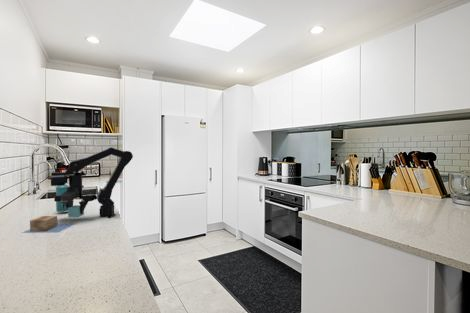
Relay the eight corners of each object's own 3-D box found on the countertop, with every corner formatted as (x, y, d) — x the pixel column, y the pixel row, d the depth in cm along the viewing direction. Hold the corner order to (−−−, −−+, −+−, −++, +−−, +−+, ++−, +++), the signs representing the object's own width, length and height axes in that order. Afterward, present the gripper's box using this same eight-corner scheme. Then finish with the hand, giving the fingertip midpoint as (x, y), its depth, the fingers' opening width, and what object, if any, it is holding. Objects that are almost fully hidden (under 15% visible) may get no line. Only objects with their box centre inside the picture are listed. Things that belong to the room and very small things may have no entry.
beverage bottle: (62, 214, 135) (61, 180, 134) (53, 214, 136) (52, 179, 136) (72, 211, 141) (71, 178, 141) (63, 211, 143) (62, 178, 142)
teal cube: (84, 214, 126) (83, 205, 126) (78, 217, 121) (77, 207, 121) (74, 214, 126) (74, 205, 126) (68, 217, 121) (68, 207, 121)
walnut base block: (57, 226, 113) (57, 216, 113) (46, 231, 106) (45, 220, 106) (42, 226, 113) (42, 216, 113) (30, 231, 106) (29, 220, 106)
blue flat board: (75, 225, 117) (75, 223, 117) (58, 233, 105) (58, 232, 105) (42, 225, 116) (42, 224, 116) (21, 234, 104) (21, 232, 104)
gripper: (45, 186, 115) (46, 218, 115) (84, 186, 115) (85, 218, 116) (61, 183, 126) (62, 212, 126) (97, 183, 126) (97, 212, 127)
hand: (76, 213), depth 123 cm, fingers closed on teal cube, 5 cm apart
